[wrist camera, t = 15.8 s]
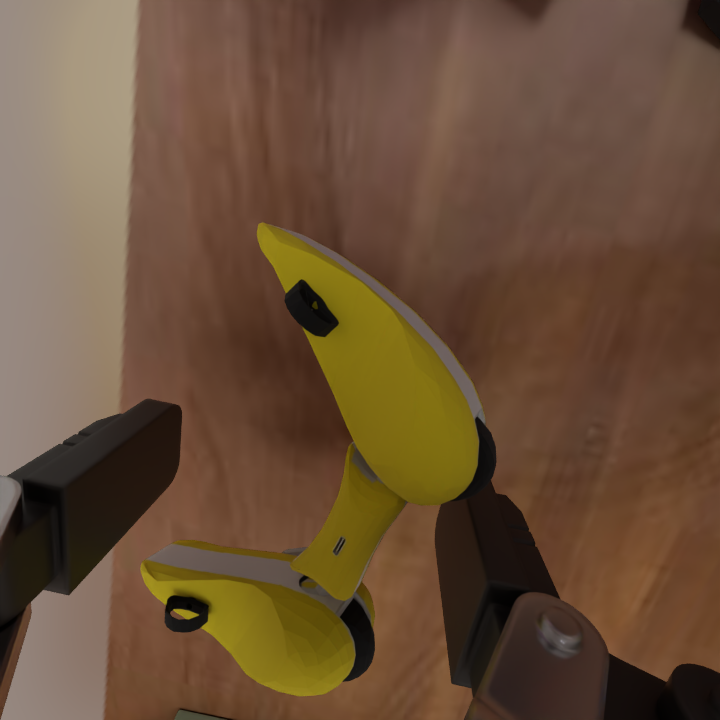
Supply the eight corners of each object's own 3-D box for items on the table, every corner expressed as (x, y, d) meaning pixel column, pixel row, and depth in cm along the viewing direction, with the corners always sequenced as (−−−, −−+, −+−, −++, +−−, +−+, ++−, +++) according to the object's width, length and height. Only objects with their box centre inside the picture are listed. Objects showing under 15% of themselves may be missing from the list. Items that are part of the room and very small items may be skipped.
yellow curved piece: (366, 660, 12) (296, 790, 8) (210, 521, 14) (108, 585, 10) (559, 357, 9) (563, 385, 5) (323, 237, 11) (227, 208, 7)
